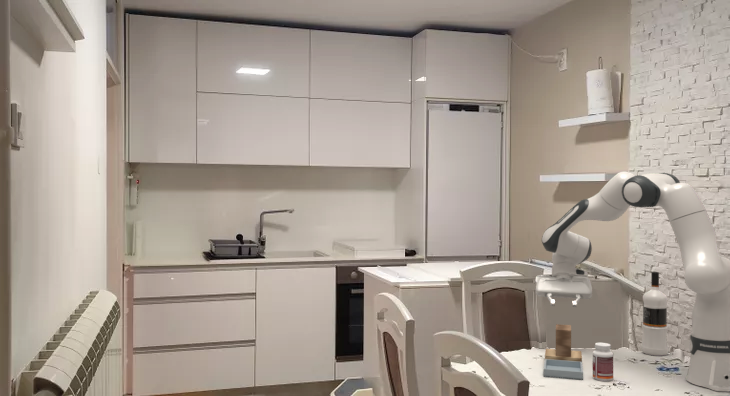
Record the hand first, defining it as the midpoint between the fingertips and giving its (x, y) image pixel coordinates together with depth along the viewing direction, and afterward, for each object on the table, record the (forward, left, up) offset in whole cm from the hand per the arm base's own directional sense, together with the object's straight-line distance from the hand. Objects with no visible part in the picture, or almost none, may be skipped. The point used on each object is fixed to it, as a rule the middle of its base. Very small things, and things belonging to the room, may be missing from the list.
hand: (563, 305), depth 231 cm
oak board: (0, +14, -18) cm, 23 cm away
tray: (0, +26, -18) cm, 32 cm away
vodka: (-32, -11, -18) cm, 38 cm away
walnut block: (0, +14, -14) cm, 20 cm away
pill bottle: (-12, +29, -18) cm, 36 cm away
